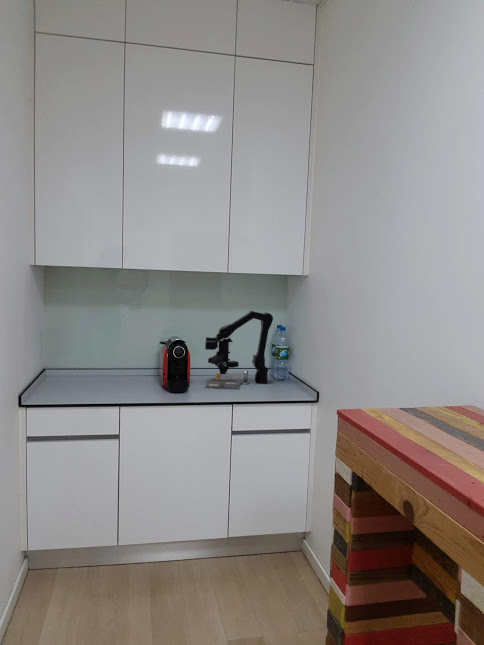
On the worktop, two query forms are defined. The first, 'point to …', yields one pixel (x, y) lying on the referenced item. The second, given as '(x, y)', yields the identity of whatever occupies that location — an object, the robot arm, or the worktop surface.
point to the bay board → (222, 385)
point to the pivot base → (245, 383)
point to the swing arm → (233, 376)
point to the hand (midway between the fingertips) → (222, 377)
